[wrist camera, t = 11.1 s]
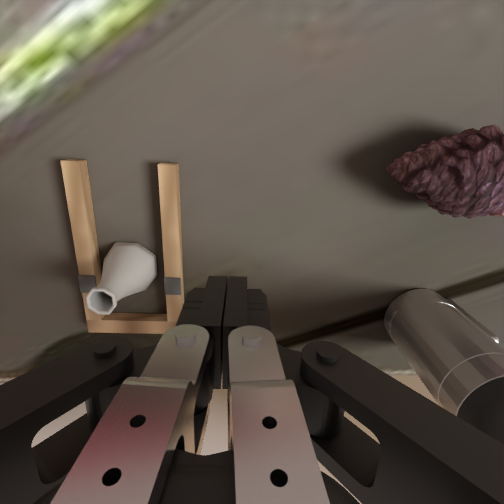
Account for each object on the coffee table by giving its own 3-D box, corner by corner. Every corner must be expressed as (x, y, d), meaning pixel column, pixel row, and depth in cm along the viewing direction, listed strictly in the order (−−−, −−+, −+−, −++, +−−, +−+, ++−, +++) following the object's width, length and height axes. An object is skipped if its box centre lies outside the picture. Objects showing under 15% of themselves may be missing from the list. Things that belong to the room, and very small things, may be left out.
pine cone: (363, 198, 41) (398, 218, 31) (384, 114, 37) (431, 108, 28) (494, 216, 42) (565, 240, 33) (526, 136, 38) (616, 136, 29)
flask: (99, 280, 44) (60, 319, 35) (110, 232, 42) (72, 261, 32) (151, 296, 45) (126, 339, 36) (165, 251, 43) (142, 283, 33)
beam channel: (178, 163, 39) (175, 164, 37) (185, 326, 47) (182, 335, 45) (69, 159, 38) (58, 160, 36) (94, 324, 46) (87, 333, 44)
